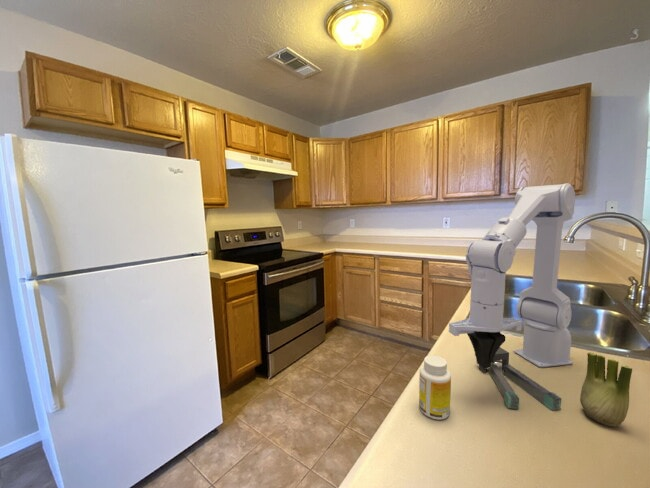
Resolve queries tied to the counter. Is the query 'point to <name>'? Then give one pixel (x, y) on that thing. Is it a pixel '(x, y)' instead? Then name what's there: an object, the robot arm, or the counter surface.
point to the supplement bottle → (435, 388)
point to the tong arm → (504, 387)
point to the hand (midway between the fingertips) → (483, 365)
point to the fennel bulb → (606, 390)
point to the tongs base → (530, 386)
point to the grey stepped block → (499, 358)
